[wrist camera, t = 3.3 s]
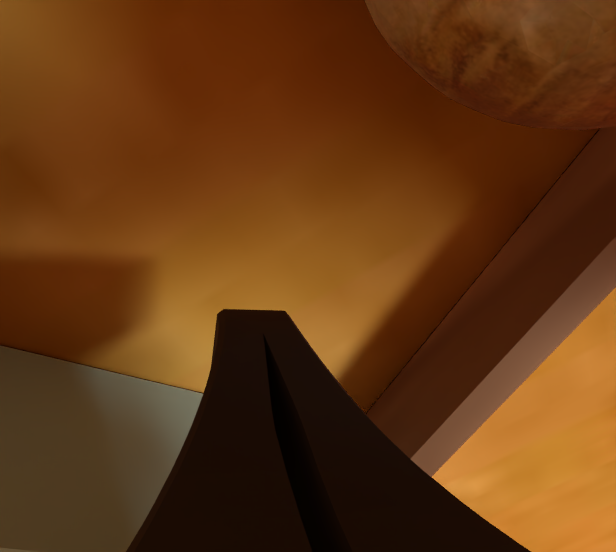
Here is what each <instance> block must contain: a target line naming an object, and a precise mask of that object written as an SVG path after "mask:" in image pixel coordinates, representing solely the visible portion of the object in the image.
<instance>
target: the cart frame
mask: <svg viewBox="0 0 616 552" xmlns="http://www.w3.org/2000/svg"><path fill="white" fill-rule="evenodd" d="M615 287H616V126H613V127H605V128H600V130H599V131H598V132H597V133H596V134H595V136H594V137H593V138H592V139H591V141H590V142H589V143H588V144H587V145H586V147H585V148H584V149H583V150H582V152H581V153H580V154H579V155H578V156H577V158H576V159H575V160H574V161H573V163H572V164H571V165H570V166H569V167H568V169H567V170H566V171H565V172H564V173H563V175H562V176H561V177H560V178H559V180H558V181H557V182H556V183H555V184H554V186H553V187H552V188H551V189H550V191H549V192H548V193H547V194H546V195H545V197H544V198H543V199H542V200H541V202H540V203H539V204H538V205H537V206H536V208H535V209H534V210H533V211H532V212H531V214H530V215H529V216H528V217H527V219H526V220H525V221H524V222H523V223H522V225H521V226H520V227H519V228H518V230H517V231H516V232H515V233H514V234H513V236H512V237H511V238H510V239H509V241H508V242H507V243H506V244H505V245H504V247H503V248H502V249H501V250H500V252H499V253H498V254H497V255H496V256H495V258H494V259H493V260H492V261H491V262H490V264H489V265H488V266H487V267H486V269H485V270H484V271H483V272H482V273H481V275H480V276H479V277H478V278H477V280H476V281H475V282H474V283H473V284H472V286H471V287H470V288H469V289H468V291H467V292H466V293H465V294H464V295H463V297H462V298H461V299H460V300H459V302H458V303H457V304H456V305H455V306H454V308H453V309H452V310H451V311H450V312H449V314H448V315H447V316H446V317H445V319H444V320H443V321H442V322H441V323H440V325H439V326H438V327H437V328H436V330H435V331H434V332H433V333H432V334H431V336H430V337H429V338H428V339H427V341H426V342H425V343H424V344H423V345H422V347H421V348H420V349H419V350H418V351H417V353H416V354H415V355H414V356H413V358H412V359H411V360H410V361H409V362H408V364H407V365H406V366H405V367H404V369H403V370H402V371H401V372H400V373H399V375H398V376H397V377H396V378H395V380H394V381H393V382H392V383H391V384H390V386H389V387H388V388H387V389H386V391H385V392H384V393H383V394H382V395H381V397H380V398H379V399H378V400H377V401H376V403H375V404H374V405H373V406H372V408H371V409H370V410H369V411H368V412H367V414H366V415H367V416H368V417H369V419H370V420H371V421H372V422H373V423H374V424H375V425H376V426H377V427H378V428H379V429H380V430H381V431H382V432H383V433H384V434H385V435H386V436H387V437H388V438H389V439H390V440H391V441H392V442H393V443H394V444H395V445H396V446H397V447H398V448H399V449H400V450H401V451H402V452H403V453H404V454H406V455H407V456H408V457H409V458H410V459H411V460H412V461H413V462H414V463H415V464H416V465H418V466H419V467H420V468H421V469H422V470H423V471H424V472H426V473H427V474H428V475H429V476H430V477H432V476H433V475H434V474H435V473H436V472H437V471H438V470H439V468H440V467H441V466H442V465H443V464H444V463H445V462H446V461H447V460H448V459H449V458H450V457H451V456H452V455H453V454H454V453H455V452H456V451H457V450H458V449H459V448H460V447H461V446H462V445H463V444H464V443H465V442H466V441H467V440H468V439H469V438H470V437H471V436H472V435H473V433H474V432H475V431H476V430H477V429H478V428H479V427H480V426H481V425H482V424H483V423H484V422H485V421H486V420H487V419H488V418H489V417H490V416H491V415H492V414H493V413H494V412H495V411H496V410H497V409H498V408H499V407H500V406H501V405H502V404H503V403H504V402H505V401H506V399H507V398H508V397H509V396H510V395H511V394H512V393H513V392H514V391H515V390H516V389H517V388H518V387H519V386H520V385H521V384H522V383H523V382H524V381H525V380H526V379H527V378H528V377H529V376H530V375H531V374H532V373H533V372H534V371H535V370H536V369H537V368H538V367H539V365H540V364H541V363H542V362H543V361H544V360H545V359H546V358H547V357H548V356H549V355H550V354H551V353H552V352H553V351H554V350H555V349H556V348H557V347H558V346H559V345H560V344H561V343H562V342H563V341H564V340H565V339H566V338H567V337H568V336H569V335H570V334H571V333H572V331H573V330H574V329H575V328H576V327H577V326H578V325H579V324H580V323H581V322H582V321H583V320H584V319H585V318H586V317H587V316H588V315H589V314H590V313H591V312H592V311H593V310H594V309H595V308H596V307H597V306H598V305H599V304H600V303H601V302H602V301H603V300H604V299H605V298H606V296H607V295H608V294H609V293H610V292H611V291H612V290H613V289H614V288H615Z"/></svg>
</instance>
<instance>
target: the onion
mask: <svg viewBox="0 0 616 552" xmlns="http://www.w3.org/2000/svg"><path fill="white" fill-rule="evenodd" d="M364 1H365V3H366V5H367V8H368V10H369V12H370V14H371V17H372V19H373V21H374V23H375V25H376V27H377V28H378V30H379V31H380V33H381V34H382V36H383V37H384V39H385V40H386V42H387V43H388V45H389V46H390V47H391V49H392V50H393V51H394V52H395V53H396V54H397V55H398V56H399V57H401V58H402V59H403V60H404V61H405V62H406V63H407V64H408V65H409V66H410V67H411V68H412V69H413V70H414V71H416V72H417V73H418V74H419V75H420V76H421V77H422V78H424V79H425V80H426V81H427V82H428V83H429V84H430V85H432V86H433V87H434V88H436V89H437V90H439V91H440V92H441V93H443V94H444V95H446V96H447V97H448V98H450V99H452V100H454V101H456V102H458V103H460V104H462V105H464V106H466V107H469V108H471V109H474V110H476V111H478V112H481V113H483V114H486V115H488V116H491V117H493V118H496V119H498V120H501V121H505V122H509V123H513V124H518V125H524V126H529V127H535V128H546V129H565V130H588V129H597V128H605V127H613V126H616V0H364Z"/></svg>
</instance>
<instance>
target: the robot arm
mask: <svg viewBox="0 0 616 552" xmlns="http://www.w3.org/2000/svg"><path fill="white" fill-rule="evenodd" d="M126 552H531V551H529V550H528V549H526V548H525V547H523V546H522V545H520V544H519V543H517V542H516V541H514V540H513V539H512V538H510V537H509V536H507V535H506V534H505V533H503V532H502V531H500V530H499V529H498V528H496V527H495V526H493V525H492V524H490V523H489V522H488V521H486V520H485V519H483V518H482V517H481V516H479V515H478V514H477V513H475V512H474V511H473V510H471V509H470V508H469V507H467V506H466V505H465V504H464V503H462V502H461V501H460V500H458V499H457V498H456V497H455V496H454V495H452V494H451V493H450V492H449V491H447V490H446V489H445V488H444V487H443V486H441V485H440V484H439V483H438V482H436V481H435V480H434V479H433V478H431V477H430V476H429V475H428V474H427V473H426V472H424V471H423V470H422V469H421V468H420V467H419V466H418V465H416V464H415V463H414V462H413V461H412V460H411V459H410V458H409V457H408V456H407V455H406V454H404V453H403V452H402V451H401V450H400V449H399V448H398V447H397V446H396V445H395V444H394V443H393V442H392V441H391V440H390V439H389V438H388V437H387V436H386V435H385V434H384V433H383V432H382V431H381V430H380V429H379V428H378V427H377V426H376V425H375V424H374V423H373V422H372V421H371V420H370V419H369V417H368V416H367V415H366V414H365V413H364V412H363V411H362V410H361V409H360V407H359V406H358V405H357V404H356V403H355V402H354V401H353V399H352V398H351V397H350V396H349V395H348V394H347V392H346V391H345V390H344V389H343V388H342V386H341V385H340V384H339V383H338V381H337V380H336V379H335V378H334V376H333V375H332V374H331V373H330V371H329V370H328V369H327V368H326V366H325V365H324V364H323V362H322V361H321V360H320V358H319V357H318V356H317V354H316V353H315V352H314V350H313V349H312V348H311V346H310V345H309V343H308V342H307V341H306V339H305V338H304V336H303V335H302V334H301V332H300V331H299V329H298V328H297V326H296V325H295V324H294V322H293V321H292V319H291V318H290V316H289V315H288V314H287V313H286V312H285V311H273V310H235V309H223V310H222V311H221V312H219V313H218V314H217V321H216V330H215V338H214V347H213V356H212V364H211V370H210V374H209V377H208V381H207V384H206V388H205V391H204V393H203V396H202V399H201V401H200V404H199V407H198V410H197V412H196V415H195V418H194V420H193V423H192V425H191V428H190V430H189V433H188V435H187V437H186V440H185V442H184V444H183V446H182V449H181V451H180V453H179V455H178V457H177V459H176V461H175V464H174V466H173V468H172V470H171V472H170V474H169V476H168V478H167V480H166V481H165V483H164V485H163V487H162V489H161V491H160V493H159V495H158V497H157V499H156V501H155V503H154V504H153V506H152V508H151V510H150V512H149V514H148V515H147V517H146V519H145V521H144V522H143V524H142V526H141V527H140V529H139V531H138V532H137V534H136V536H135V537H134V539H133V541H132V542H131V544H130V546H129V547H128V549H127V551H126Z"/></svg>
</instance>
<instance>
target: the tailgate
mask: <svg viewBox="0 0 616 552" xmlns="http://www.w3.org/2000/svg"><path fill="white" fill-rule="evenodd" d="M202 396H203V393H198V392H194V391H190V390H186V389H181V388H177V387H173V386H169V385H165V384H160V383H156V382H152V381H148V380H144V379H139V378H135V377H131V376H127V375H123V374H118V373H114V372H110V371H106V370H102V369H97V368H93V367H89V366H85V365H81V364H76V363H72V362H68V361H64V360H60V359H55V358H51V357H47V356H43V355H39V354H34V353H30V352H26V351H22V350H18V349H13V348H9V347H5V346H1V345H0V552H126V551H127V549H128V547H129V546H130V544H131V542H132V541H133V539H134V537H135V536H136V534H137V532H138V531H139V529H140V527H141V526H142V524H143V522H144V521H145V519H146V517H147V515H148V514H149V512H150V510H151V508H152V506H153V504H154V503H155V501H156V499H157V497H158V495H159V493H160V491H161V489H162V487H163V485H164V483H165V481H166V480H167V478H168V476H169V474H170V472H171V470H172V468H173V466H174V464H175V461H176V459H177V457H178V455H179V453H180V451H181V449H182V446H183V444H184V442H185V440H186V437H187V435H188V433H189V430H190V428H191V425H192V423H193V420H194V418H195V415H196V412H197V410H198V407H199V404H200V401H201V399H202Z"/></svg>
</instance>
